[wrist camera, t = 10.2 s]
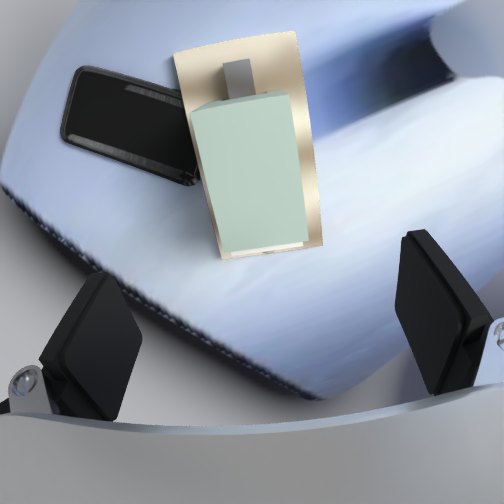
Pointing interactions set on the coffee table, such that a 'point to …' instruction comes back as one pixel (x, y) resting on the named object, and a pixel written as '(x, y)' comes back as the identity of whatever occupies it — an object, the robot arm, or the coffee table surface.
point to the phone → (131, 123)
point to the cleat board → (267, 79)
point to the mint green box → (252, 172)
